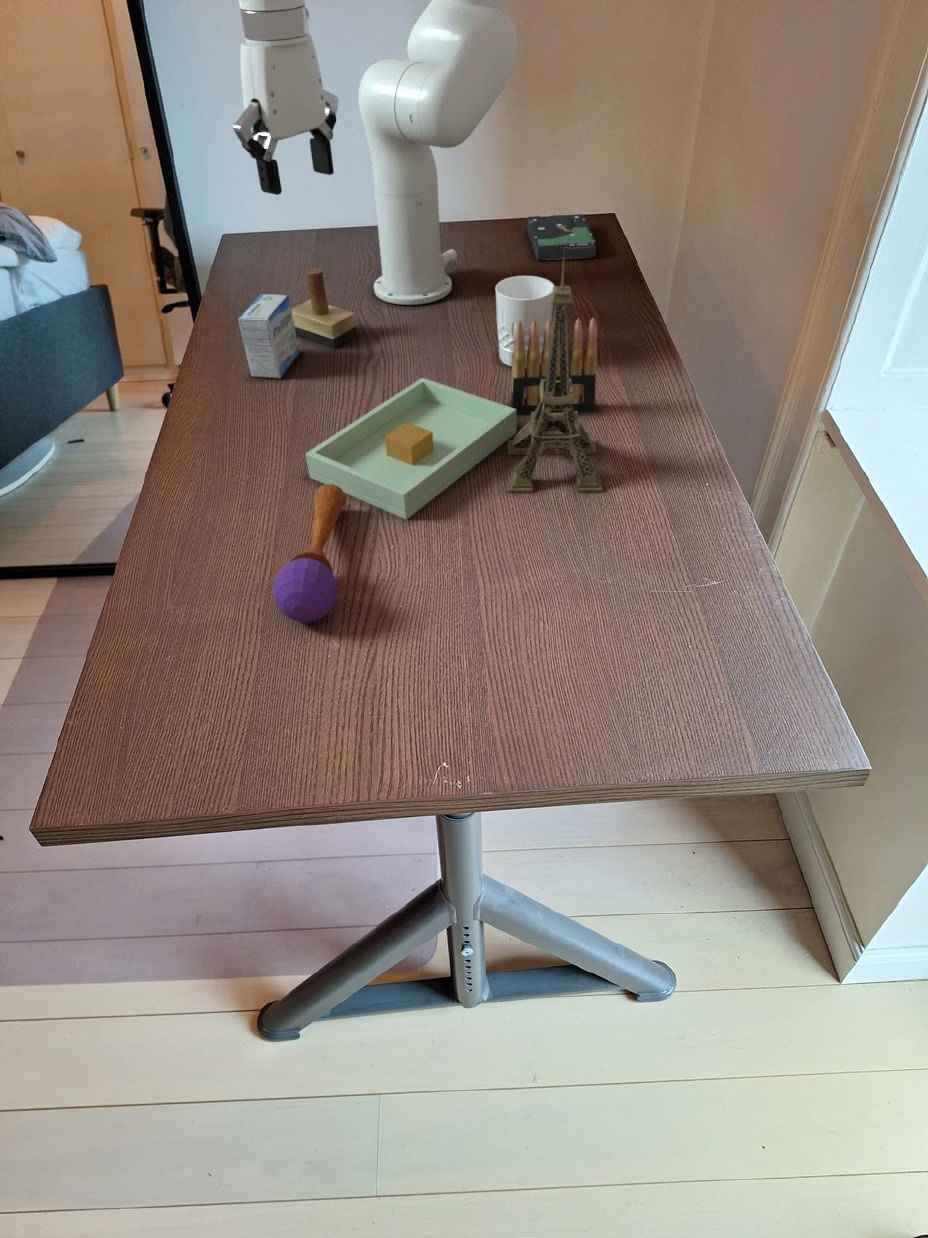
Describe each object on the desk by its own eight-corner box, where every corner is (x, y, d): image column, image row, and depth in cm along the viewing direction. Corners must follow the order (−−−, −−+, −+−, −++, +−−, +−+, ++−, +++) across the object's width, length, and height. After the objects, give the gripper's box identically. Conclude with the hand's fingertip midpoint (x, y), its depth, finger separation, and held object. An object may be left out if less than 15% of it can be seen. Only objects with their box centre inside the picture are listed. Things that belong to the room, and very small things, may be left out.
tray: (423, 400, 112) (422, 377, 109) (516, 432, 105) (516, 408, 103) (309, 477, 99) (305, 453, 97) (406, 519, 93) (404, 494, 91)
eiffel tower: (507, 442, 104) (509, 228, 86) (594, 441, 103) (613, 226, 86) (508, 492, 96) (510, 269, 79) (602, 492, 95) (624, 267, 78)
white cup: (559, 350, 121) (563, 280, 114) (539, 375, 116) (542, 302, 109) (508, 341, 123) (509, 271, 117) (486, 364, 118) (485, 293, 111)
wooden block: (407, 440, 103) (406, 421, 101) (433, 450, 101) (432, 431, 100) (386, 455, 101) (384, 436, 99) (412, 465, 99) (411, 447, 97)
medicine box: (280, 379, 117) (269, 318, 111) (250, 377, 118) (237, 316, 112) (300, 353, 123) (289, 294, 117) (271, 351, 123) (259, 292, 117)
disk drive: (525, 232, 156) (536, 261, 145) (526, 216, 154) (537, 244, 143) (581, 229, 156) (596, 258, 145) (582, 212, 154) (598, 241, 143)
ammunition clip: (592, 404, 110) (600, 313, 101) (594, 411, 108) (602, 320, 100) (509, 407, 110) (510, 317, 101) (511, 415, 108) (511, 324, 100)
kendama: (360, 477, 92) (334, 588, 76) (355, 523, 96) (330, 638, 80) (304, 469, 91) (268, 579, 76) (302, 515, 95) (266, 630, 79)
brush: (313, 321, 130) (304, 258, 124) (357, 335, 126) (350, 271, 120) (290, 333, 127) (279, 269, 121) (334, 348, 123) (325, 283, 117)
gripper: (303, 12, 107) (322, 161, 118) (197, 34, 97) (229, 195, 108) (348, 16, 103) (363, 170, 115) (242, 40, 93) (271, 205, 105)
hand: (298, 182), depth 112 cm, fingers open, 9 cm apart
